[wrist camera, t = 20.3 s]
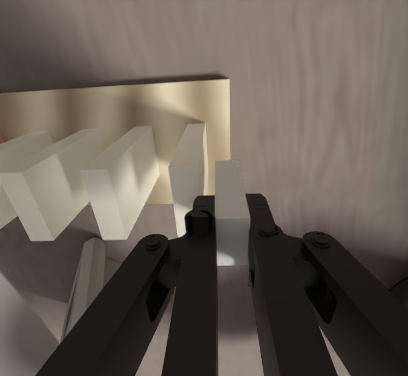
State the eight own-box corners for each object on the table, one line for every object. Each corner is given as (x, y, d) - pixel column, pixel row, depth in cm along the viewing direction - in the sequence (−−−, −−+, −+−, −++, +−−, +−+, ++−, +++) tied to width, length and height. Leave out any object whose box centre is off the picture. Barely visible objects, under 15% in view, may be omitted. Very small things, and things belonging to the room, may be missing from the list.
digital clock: (94, 227, 29) (37, 305, 20) (157, 260, 31) (132, 344, 22) (52, 295, 36) (-5, 377, 27) (107, 318, 38) (71, 402, 29)
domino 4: (205, 123, 22) (197, 165, 13) (208, 173, 24) (203, 238, 15) (188, 123, 22) (168, 166, 13) (192, 173, 24) (178, 238, 15)
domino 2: (99, 128, 22) (22, 172, 13) (112, 176, 25) (53, 240, 16) (82, 129, 22) (-5, 173, 14) (97, 176, 25) (30, 241, 16)
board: (228, 78, 21) (229, 79, 20) (230, 197, 26) (230, 202, 25) (-85, 98, 23) (-97, 99, 22) (-22, 204, 28) (-29, 208, 27)
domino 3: (151, 125, 22) (107, 169, 13) (159, 174, 24) (126, 239, 15) (134, 126, 22) (79, 170, 13) (144, 175, 24) (102, 240, 16)
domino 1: (48, 130, 23) (-59, 175, 14) (66, 178, 25) (-17, 241, 16) (32, 131, 23) (-84, 176, 14) (51, 178, 25) (-38, 242, 16)
